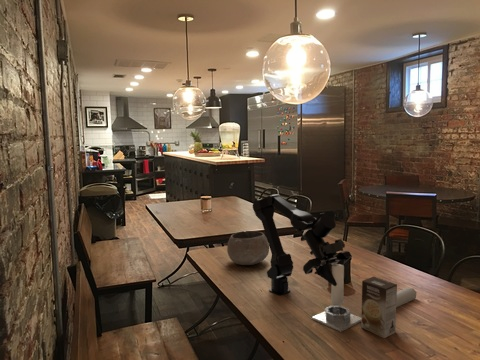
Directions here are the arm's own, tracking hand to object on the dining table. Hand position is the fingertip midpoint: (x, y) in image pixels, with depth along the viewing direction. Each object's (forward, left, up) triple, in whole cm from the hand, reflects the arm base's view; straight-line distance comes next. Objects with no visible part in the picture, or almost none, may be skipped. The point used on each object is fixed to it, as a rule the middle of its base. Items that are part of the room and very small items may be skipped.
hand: (340, 284), depth 133 cm
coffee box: (+12, +4, -13) cm, 18 cm away
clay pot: (-68, +17, -13) cm, 72 cm away
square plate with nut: (-1, 0, -13) cm, 13 cm away
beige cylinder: (-1, 0, -7) cm, 7 cm away
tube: (+6, +25, -14) cm, 29 cm away
